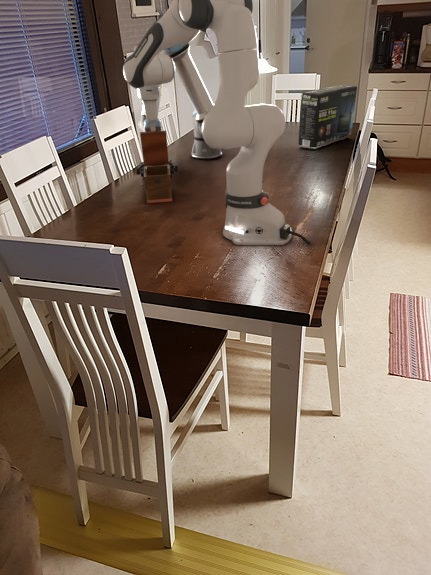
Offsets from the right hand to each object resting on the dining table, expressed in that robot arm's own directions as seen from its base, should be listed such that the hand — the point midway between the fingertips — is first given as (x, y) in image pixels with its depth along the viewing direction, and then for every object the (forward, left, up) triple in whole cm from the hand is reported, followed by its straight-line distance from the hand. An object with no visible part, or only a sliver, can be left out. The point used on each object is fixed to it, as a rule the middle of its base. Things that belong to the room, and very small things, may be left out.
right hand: (153, 129), depth 178 cm
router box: (-61, -85, -24) cm, 107 cm away
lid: (-2, +5, -6) cm, 8 cm away
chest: (-4, +9, -24) cm, 25 cm away
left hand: (-2, +5, -17) cm, 17 cm away
